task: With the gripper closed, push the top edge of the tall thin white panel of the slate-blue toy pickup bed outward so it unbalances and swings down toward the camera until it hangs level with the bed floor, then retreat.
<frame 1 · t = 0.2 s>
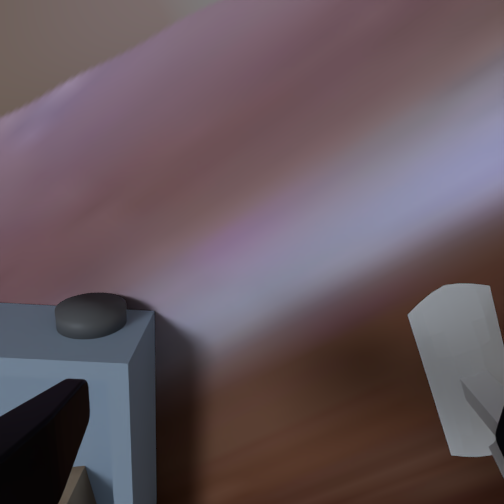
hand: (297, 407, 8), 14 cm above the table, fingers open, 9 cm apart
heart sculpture: (467, 375, 25), on the table
pickup bed: (33, 421, 26), on the table
brown cube: (59, 495, 26), point 1 cm above the table, touching pickup bed
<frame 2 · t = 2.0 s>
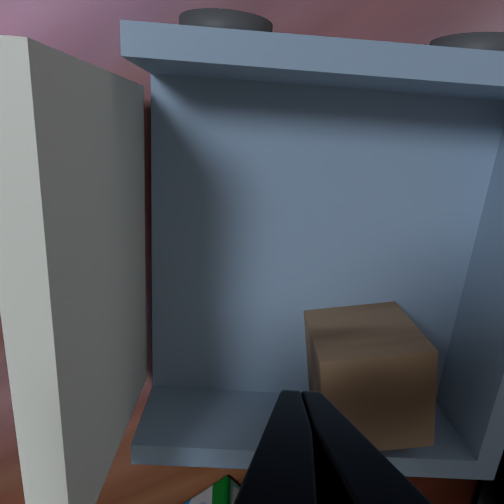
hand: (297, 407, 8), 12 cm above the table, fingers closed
pickup bed: (317, 250, 20), on the table
tall thin white panel: (96, 283, 14), point 6 cm above the table, hinge at 0.0°
brown cube: (350, 346, 20), point 1 cm above the table, touching pickup bed
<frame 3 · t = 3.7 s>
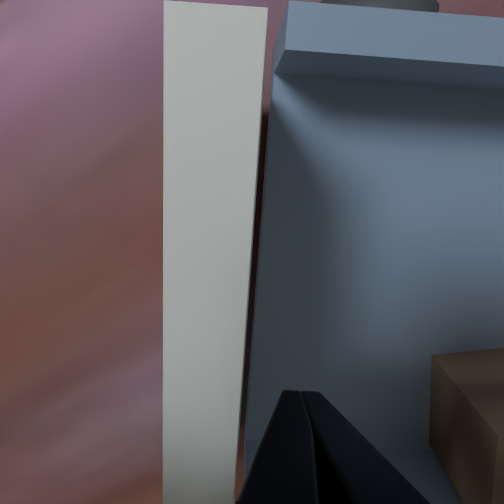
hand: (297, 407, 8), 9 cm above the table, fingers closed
pickup bed: (442, 282, 17), on the table
tall thin white panel: (223, 342, 11), point 6 cm above the table, hinge at 2.0°, touching gripper
brown cube: (483, 395, 17), point 1 cm above the table, touching pickup bed
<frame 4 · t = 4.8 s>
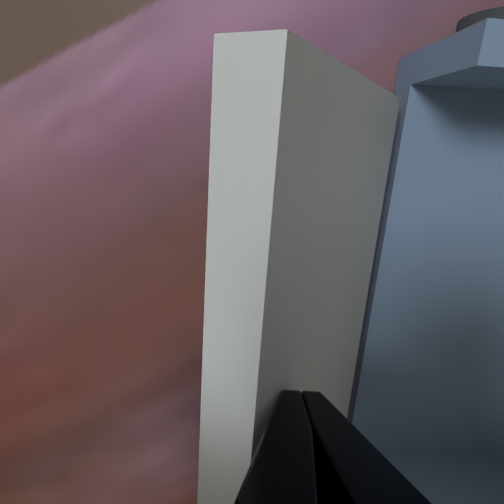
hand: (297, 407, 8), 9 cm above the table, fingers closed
tall thin white panel: (309, 338, 11), point 6 cm above the table, hinge at 29.8°
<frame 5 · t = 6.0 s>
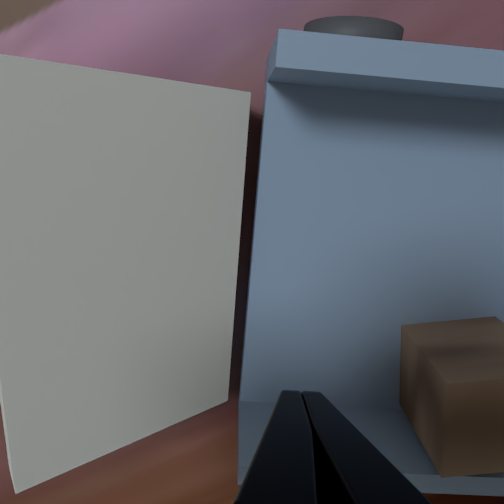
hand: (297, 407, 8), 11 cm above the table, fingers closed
pickup bed: (412, 263, 19), on the table
tall thin white panel: (131, 278, 15), point 4 cm above the table, hinge at 52.9°
brown cube: (445, 361, 20), point 1 cm above the table, touching pickup bed
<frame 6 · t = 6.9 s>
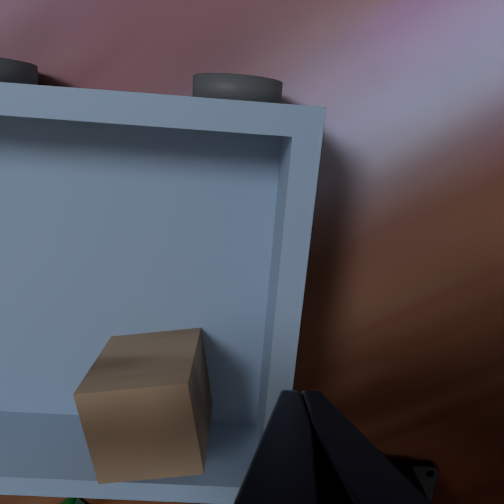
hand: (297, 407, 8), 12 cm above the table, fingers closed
pickup bed: (130, 276, 20), on the table
brown cube: (163, 370, 20), point 1 cm above the table, touching pickup bed
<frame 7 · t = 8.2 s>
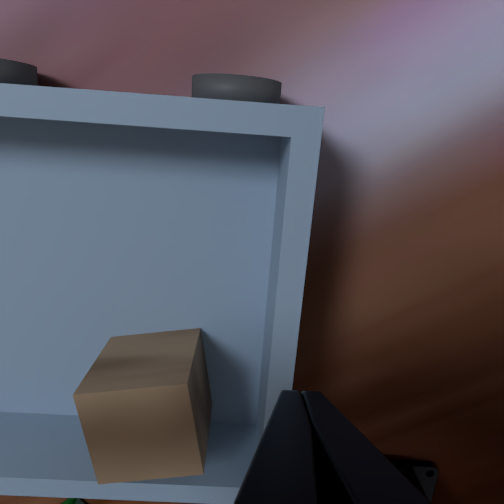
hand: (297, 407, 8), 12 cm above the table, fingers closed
pickup bed: (130, 276, 20), on the table
brown cube: (163, 371, 20), point 1 cm above the table, touching pickup bed
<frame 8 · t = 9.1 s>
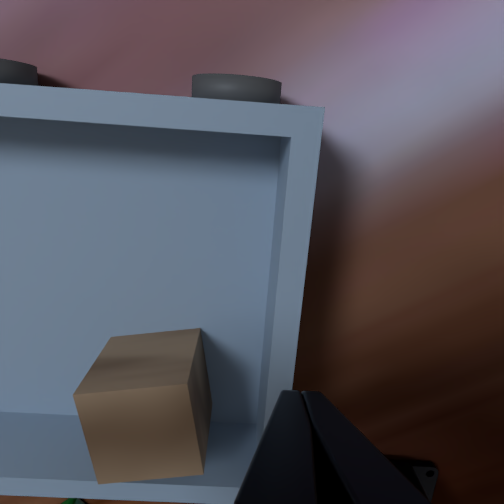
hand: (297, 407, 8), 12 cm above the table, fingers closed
pickup bed: (130, 276, 20), on the table
brown cube: (163, 371, 20), point 1 cm above the table, touching pickup bed
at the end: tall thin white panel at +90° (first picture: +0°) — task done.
